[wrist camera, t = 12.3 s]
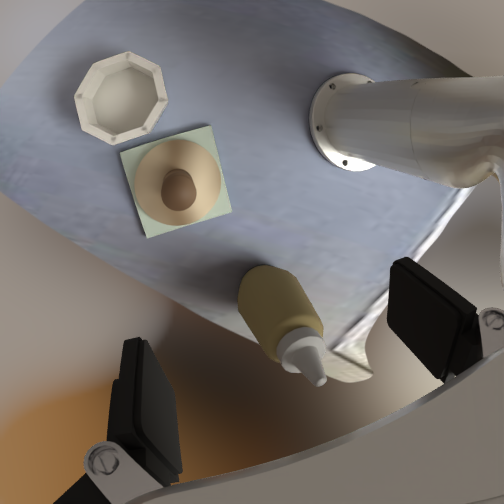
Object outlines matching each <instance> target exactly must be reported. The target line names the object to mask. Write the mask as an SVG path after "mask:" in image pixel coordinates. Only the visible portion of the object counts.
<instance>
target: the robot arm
mask: <svg viewBox="0 0 504 504" xmlns="http://www.w3.org/2000/svg"><path fill="white" fill-rule="evenodd" d="M329 86H330V87H329ZM309 124H310V131H311V135H312V138H313V141H314V143H315V145H316V147H317V149H318V150H319V151H320V153H321V154H322V155H323V157H324V158H326V159H327V160H328V161H329V162H330V163H332V164H333V165H335V166H337V167H339V168H342V169H345V170H349V171H363V170H368V169H370V168H372V167H374V166H376V165H378V166H382V167H385V168H389V169H393V170H396V171H399V172H403V173H406V174H410V175H413V176H416V177H419V178H422V179H426V180H429V181H432V182H435V183H439V184H442V185H445V186H448V187H452V188H469V187H472V186H475V185H477V184H479V183H481V182H482V181H484V180H485V179H487V178H488V177H489V176H491V175H492V174H493V173H494V172H495V173H496V174H497V175H498V178H499V181H500V187H501V201H502V233H501V253H500V277H501V283H502V286H503V290H504V76H492V77H473V78H428V79H408V80H394V81H383V82H375V81H373V80H372V79H370V78H368V77H366V76H364V75H360V74H355V73H347V74H341V75H338V76H334V77H332V78H331V79H329V80H327V81H326V82H325V83H324V84H323V85H321V86H320V88H319V89H318V91H317V92H316V93H315V96H314V98H313V100H312V103H311V107H310V112H309ZM316 126H317V127H318V129H317V130H316ZM342 161H343V163H342ZM476 310H477V308H476V307H475V306H474V305H473V304H471V303H470V302H469V301H467V300H466V299H465V298H464V297H462V296H461V295H460V294H458V293H457V292H456V291H454V290H453V289H452V288H450V287H449V286H448V285H446V284H445V283H444V282H442V281H441V280H440V279H438V278H437V277H436V276H434V275H433V274H431V273H430V272H429V271H427V270H426V269H425V268H423V267H422V266H420V265H419V264H418V263H416V262H415V261H413V260H412V259H410V258H409V257H404V258H401V259H398V260H395V261H394V262H393V265H392V266H391V268H390V283H389V299H388V311H387V323H388V326H389V327H390V328H391V330H393V332H394V333H395V334H397V336H398V337H399V338H400V339H401V340H402V341H403V342H404V343H405V345H406V346H407V347H408V348H409V349H410V350H411V351H412V352H413V353H414V355H415V356H416V357H417V358H418V359H419V360H420V361H421V362H422V363H423V364H424V366H425V367H426V368H427V369H428V370H429V371H430V372H431V373H432V375H433V376H434V377H435V378H436V379H440V380H441V381H442V382H443V383H444V384H443V385H442V386H440V387H438V388H437V389H435V390H433V391H432V392H430V393H428V394H427V395H425V396H423V397H421V398H420V399H418V400H416V401H415V402H413V403H411V404H409V405H407V406H405V407H403V408H401V409H400V410H398V411H396V412H394V413H392V414H390V415H388V416H386V417H384V418H382V419H380V420H378V421H376V422H374V423H371V424H369V425H367V426H365V427H363V428H360V429H358V430H356V431H354V432H351V433H349V434H347V435H345V436H342V437H339V438H337V439H335V440H332V441H329V442H327V443H324V444H322V445H319V446H316V447H314V448H311V449H308V450H305V451H303V452H300V453H297V454H294V455H291V456H288V457H284V458H281V459H278V460H275V461H271V462H268V463H265V464H261V465H257V466H254V467H250V468H246V469H243V470H238V471H235V472H231V473H226V474H222V475H218V476H213V477H208V478H204V479H199V480H194V481H190V482H185V483H180V484H176V485H172V486H171V484H170V483H174V482H179V477H178V474H180V473H182V471H183V470H182V461H181V453H180V446H179V445H180V444H179V434H178V424H177V413H176V401H175V393H174V390H173V388H172V386H171V384H170V382H169V381H168V379H167V377H166V375H165V373H164V372H163V370H162V368H161V366H160V364H159V362H158V360H157V359H156V357H155V355H154V353H153V351H152V349H151V347H150V345H149V343H148V341H147V340H142V339H141V338H140V337H137V338H132V339H128V340H125V341H124V344H123V351H122V358H121V365H120V373H119V379H115V380H114V381H113V385H112V393H111V400H110V409H109V419H108V429H107V441H103V442H100V443H97V444H95V445H94V446H92V447H91V448H90V449H89V450H88V451H87V453H86V455H85V457H84V469H85V471H86V473H85V474H84V475H83V476H82V477H81V478H80V479H79V480H78V481H77V482H76V483H75V484H74V485H73V486H71V487H70V488H69V489H68V490H67V491H66V492H65V493H64V494H63V495H62V496H61V497H60V498H58V500H56V501H55V502H54V503H53V504H504V311H503V310H501V309H498V308H493V307H492V308H486V309H484V310H482V311H481V312H480V314H479V315H478V314H477V313H476ZM455 376H456V377H455Z"/></svg>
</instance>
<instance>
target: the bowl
mask: <svg viewBox="0 0 504 504" xmlns="http://www.w3.org/2000/svg"><path fill="white" fill-rule="evenodd" d="M74 99H75V104H76V108H77V112H78V116H79V120H80V124H81V128H82V130H83V131H85V132H87V133H89V134H91V135H93V136H95V137H97V138H99V139H101V140H103V141H105V142H107V143H109V144H111V145H116V144H119V143H122V142H124V141H127V140H130V139H133V138H136V137H139V136H142V135H145V134H149V133H151V132H152V130H153V128H154V126H155V125H156V123H157V122H158V120H159V119H160V117H161V115H162V113H163V111H164V110H165V108H166V107H167V105H168V98H167V94H166V90H165V85H164V81H163V77H162V73H161V68H160V66H158V65H156V64H155V63H153V62H151V61H149V60H146V59H144V58H142V57H140V56H138V55H136V54H134V53H132V52H130V51H127V52H124V53H121V54H118V55H115V56H112V57H109V58H107V59H104V60H101V61H98V62H96V63H93V64H92V66H91V68H90V69H89V71H88V73H87V74H86V76H85V78H84V79H83V81H82V83H81V84H80V86H79V88H78V90H77V92H76V93H75V95H74Z"/></svg>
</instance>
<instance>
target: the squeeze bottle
mask: <svg viewBox="0 0 504 504" xmlns="http://www.w3.org/2000/svg"><path fill="white" fill-rule="evenodd" d="M237 302H238V311H239V312H240V314H241V316H242V317H243V319H244V320H245V322H246V324H247V325H248V327H249V328H250V330H251V331H252V333H253V334H254V336H255V338H256V339H257V341H258V342H259V344H260V345H261V347H262V348H263V350H264V351H265V353H266V354H267V356H268V357H269V358H270V359H271V360H274V361H276V362H278V363H281V364H282V366H283V368H284V369H285V370H287V371H289V372H292V373H300V372H302V373H303V374H304V375H305V376H306V377H307V378H308V379H309V380H310V381H311V382H312V383H313V384H314V385H315V386H321V385H323V384H324V383H325V382H326V380H327V379H326V375H325V372H324V369H323V365H322V362H321V360H322V358H323V356H324V355H325V353H326V344H325V341H324V339H323V338H322V337H323V328H324V327H323V325H322V322H321V320H320V318H319V316H318V315H317V313H316V311H315V309H314V308H313V306H312V304H311V302H310V301H309V299H308V297H307V295H306V294H305V292H304V290H303V289H302V287H301V285H300V283H299V282H298V280H297V278H296V277H295V276H293V275H292V274H291V273H289V272H288V271H286V270H283V269H280V268H276V267H273V266H268V265H261V266H256V267H254V268H253V269H251V270H249V271H248V272H247V273H246V274H245V276H244V277H243V278H242V281H241V284H240V287H239V293H238V299H237Z"/></svg>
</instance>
